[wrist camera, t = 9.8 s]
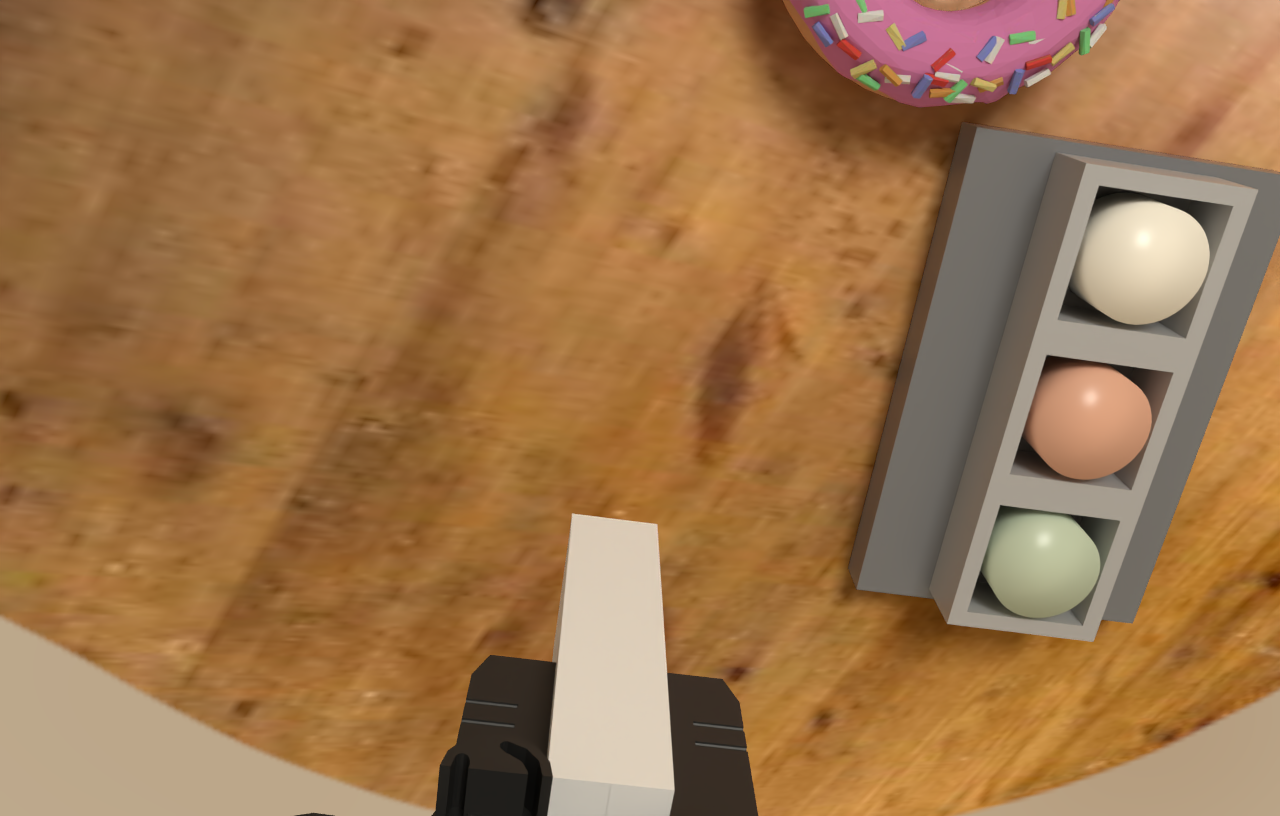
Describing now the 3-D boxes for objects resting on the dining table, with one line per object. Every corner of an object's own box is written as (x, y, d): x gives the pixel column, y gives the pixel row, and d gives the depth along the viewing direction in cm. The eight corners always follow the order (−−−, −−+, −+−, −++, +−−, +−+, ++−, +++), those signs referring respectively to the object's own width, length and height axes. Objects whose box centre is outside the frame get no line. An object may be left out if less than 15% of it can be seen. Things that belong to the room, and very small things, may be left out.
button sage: (986, 487, 48) (1008, 517, 45) (1086, 500, 48) (1114, 531, 45) (959, 576, 50) (979, 611, 47) (1055, 589, 50) (1081, 623, 47)
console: (962, 121, 44) (1002, 136, 40) (1273, 170, 45) (1348, 190, 41) (848, 568, 52) (870, 624, 48) (1114, 601, 53) (1161, 659, 48)
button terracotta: (1029, 344, 45) (1055, 367, 43) (1134, 359, 46) (1167, 382, 43) (999, 443, 47) (1023, 472, 44) (1100, 457, 47) (1130, 486, 45)
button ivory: (1077, 184, 43) (1109, 197, 40) (1188, 201, 43) (1227, 215, 40) (1044, 296, 45) (1071, 315, 42) (1150, 311, 45) (1185, 332, 42)
